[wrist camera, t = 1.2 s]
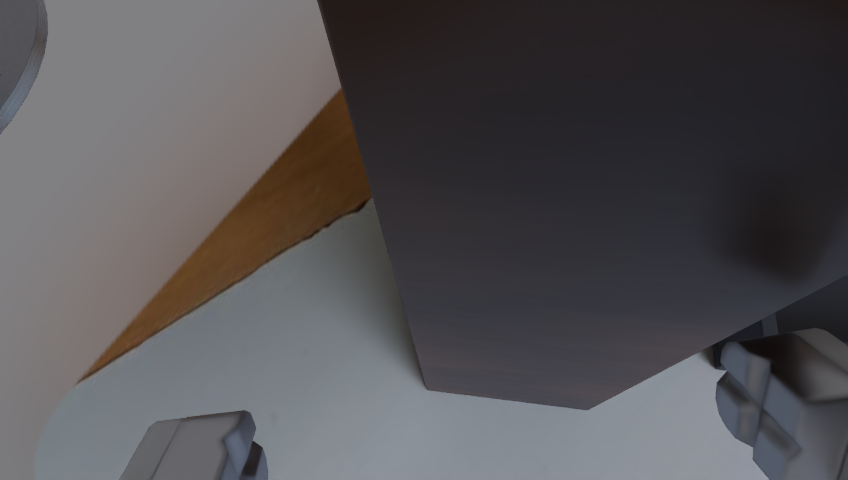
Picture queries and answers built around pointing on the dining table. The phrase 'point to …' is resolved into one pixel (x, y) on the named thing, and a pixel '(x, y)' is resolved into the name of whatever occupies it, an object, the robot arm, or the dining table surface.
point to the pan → (800, 317)
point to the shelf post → (596, 177)
